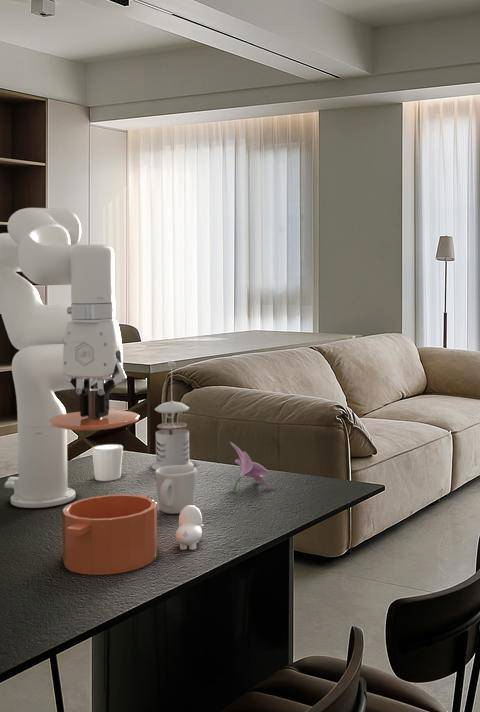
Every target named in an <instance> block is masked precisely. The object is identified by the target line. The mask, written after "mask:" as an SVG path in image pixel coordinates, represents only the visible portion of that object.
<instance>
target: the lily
mask: <svg viewBox="0 0 480 712" xmlns="http://www.w3.org/2000/svg"><path fill="white" fill-rule="evenodd" d="M229 443H230V445H231V446H232V448H233V449H234V450H235V452H236V453H237V455H238V457H239V458H237V459H235V460H234V463H235V464H237V465H239V466H240V476H239V477H238V478H237V480H236V483H235V484H234V487H233V489H232V492H231V493H235V490H236V488H237V485H238V483H239V482H240V480H241V478H242V477H251V478H253V479H254V481H255V482H256V484H260V482H261V483H262V484H263V485H264V486H265V487H266V488H267V489H268V490H269V491H270V490H271V487H270V486H269V484H268V483H267V482H266V480H265V479H264V478H263V477H265V476H268V475H270V471H269V470H268V469H267V468H266V467H264V466H263V465H261V464H260V463H258V462H255V461H252V459H251V457H250V456H249V454H248V453H247V452H246V451H245V450H242V449H241V448H240V447H238V446H237V445H236V444H235V443H233V442H231V441H229Z"/></svg>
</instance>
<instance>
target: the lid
mask: <svg viewBox="0 0 480 712" xmlns="http://www.w3.org/2000/svg"><path fill="white" fill-rule="evenodd" d="M96 395H98V388H91V389H89V390H87V406H88V416H85V417H81V416H80V411H74V412H68V413H66V414H62V415H58V416H55V417H53V418H51V419H50V420H49V425H51V426H53V427H57V428H64V429H67V431H101V430H109V429H116V428H120V427H123V426H126V425H130V424H134V423H136V422H137V421H139V420H140V415H139V414H138V413H136V412H133V411H129V410H117V409H109V414H108V415H107V416H104V417H100V418H97V417H96V416H95V396H96Z"/></svg>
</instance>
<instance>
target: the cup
mask: <svg viewBox="0 0 480 712" xmlns="http://www.w3.org/2000/svg"><path fill="white" fill-rule="evenodd" d="M197 473H198V470H197V468H196V467H195V466H193V467H192V466H187V465H173V466H166V467H161V468H159V469H157V470H155V471H154V478H155V485H156V494H157V495H156V496H157V503H158V507H159V510H160V511H161V512H162V513H164V514H169V515H180V513H181V511H182V509H183V508H185V507H186V506H188V505H193V506H195V505H194V504H195V497H196V496H195V495H196V484H197Z"/></svg>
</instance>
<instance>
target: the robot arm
mask: <svg viewBox="0 0 480 712" xmlns="http://www.w3.org/2000/svg"><path fill="white" fill-rule="evenodd" d="M81 235H82V225H81V221H80V219H79V217H78V215H77V214H76V213H74V212H73V211H72V210H70V209H67V208H52V207H51V208H50V207H26V208H21V209H18V210H17V211H15V212H14V213H12V214H11V215H10V217H9V218H8V221H7V232H1V233H0V315H1V318H2V321H3V324H4V327H5V331H6V333H7V337H8V339H9V341H10V343H11V345H12V346H13V347H14V348H15V349H17V350H18V351H17V352H16V353H15V354H14V356H13V358H12V361H11V374H12V379H13V384H14V389H15V390H14V391H15V397H16V411H17V467H18V468H17V469H18V472H17V473H18V476H9V477H7V480H6V481H5V483H4V488H5V489H10V490H12V489H13V494H12V495H11V496H10V504H11V505H12V506H14V507H17V508H23V509H43V508H50V507H56V506H60V505H64V504H67V503H70V502H72V501H73V500H75V499H76V491H75V489H74V488H70V487H68V486H69V485H68V484H69V483H68V481H69V479H68V429H64V428H57V427H53V426H51V425H49V420H50V419H51V418H53V417H55V416H58V415H62V414H67V411H66V408H65V406H64V404H63V403H62V402H61V401H60V400H59V399H58V398H57V396H56V394H55V392H61V391H66V390H76V391H75V392H76V394H77V395H79V412H80V416H81V417H85V416H88V406H87V390H89V389H92V386H94V385H95V384H97V389H98V395H96V396H95V416H96V417H97V418H100V417H104V416H107V415H108V414H109V410H110V394H111V393H112V392H113V390H114V388H116V387H117V385H119V384H121V383H123V382H125V381H127V375H126V373H125V371H124V369H123V368H124V355H123V352H124V351H123V343H122V335H121V330H120V326H119V321H118V320H116V298H115V297H116V294H115V292H116V291H115V290H116V289H115V252H114V249H113V248H112V247H111V246H110V245H107V244H79V242H80V239H81ZM17 272H19V273H22V274H23V275H24V276H25V277H26V278H28V279H26V278H25V277H23V276H21V275H20V274H19V273H17ZM30 281H31V282H32V283H33V284H35V285H39V286H70V300H71V301H70V302H71V304H50V305H49V304H44V303H43V301H42V300H41V298H40V294H39V292H38V290H37V288H36V287H35V285H33V284H32V283H31V282H30ZM113 376H114V377H113ZM112 377H113V378H112Z"/></svg>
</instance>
